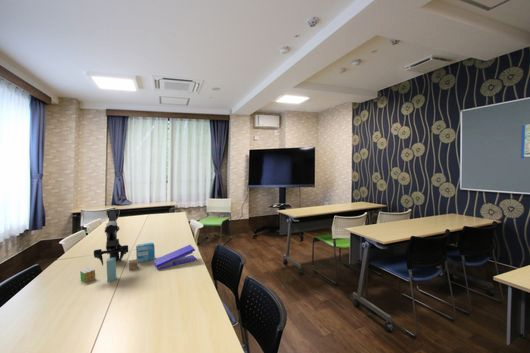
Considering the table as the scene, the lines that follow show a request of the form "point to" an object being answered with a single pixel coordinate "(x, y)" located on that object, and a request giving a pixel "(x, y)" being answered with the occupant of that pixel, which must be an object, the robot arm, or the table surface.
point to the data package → (145, 252)
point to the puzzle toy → (87, 274)
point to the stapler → (175, 258)
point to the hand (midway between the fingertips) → (111, 263)
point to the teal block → (111, 269)
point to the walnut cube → (133, 264)
